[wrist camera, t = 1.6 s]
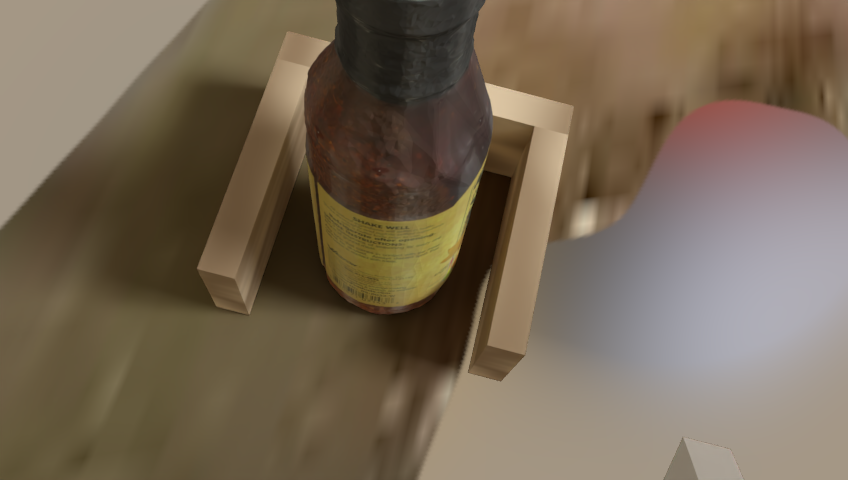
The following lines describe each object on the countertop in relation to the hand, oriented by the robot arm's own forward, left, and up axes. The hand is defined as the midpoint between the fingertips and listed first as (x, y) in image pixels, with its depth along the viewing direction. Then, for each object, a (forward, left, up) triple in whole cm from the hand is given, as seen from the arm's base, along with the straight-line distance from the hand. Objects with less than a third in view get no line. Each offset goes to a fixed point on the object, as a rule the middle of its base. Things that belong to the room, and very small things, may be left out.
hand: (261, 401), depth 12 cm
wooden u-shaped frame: (0, -12, -21) cm, 24 cm away
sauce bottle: (0, -11, -21) cm, 24 cm away
